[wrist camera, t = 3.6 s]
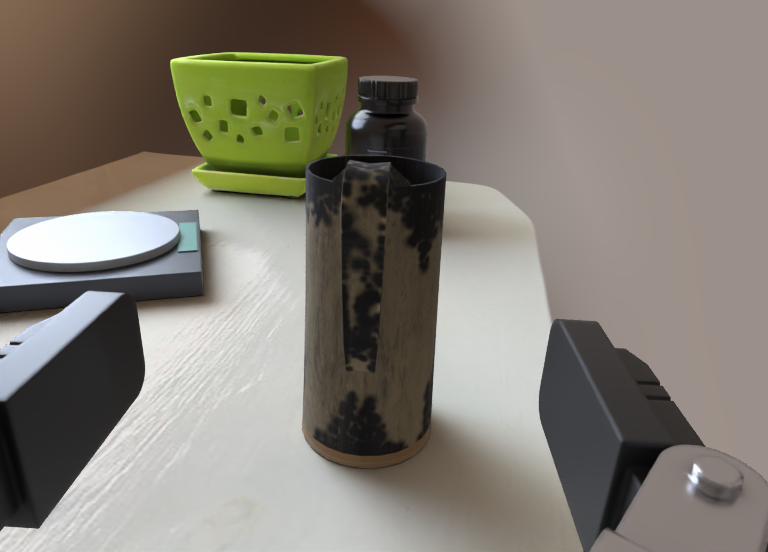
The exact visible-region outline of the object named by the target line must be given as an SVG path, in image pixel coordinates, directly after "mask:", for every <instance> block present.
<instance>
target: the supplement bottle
mask: <svg viewBox="0 0 768 552" xmlns="http://www.w3.org/2000/svg"><path fill="white" fill-rule="evenodd" d="M417 90H418V81H417V80H416V79H412V78H407V77H396V76H365V77H360V78H359V81H358V95H357V101H359V102H361V104H360V105H361V107H360V109H358V110H357V111H355V112H354V113H352V114H351V115H350V116H349V118H348V120H347V122H346V141H345V146H346V147H345V149H346V150H345V151H346V152H345V155H386V156H397V157H405V158H412V159H416V160H421V161H425V157H426V142H427V125H426V122H425V120H424V118H423V117H422V116H421V115H420V114H418V113H417V112H415V111H414V104H417V103H418V97H417Z"/></svg>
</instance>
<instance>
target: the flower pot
mask: <svg viewBox="0 0 768 552" xmlns="http://www.w3.org/2000/svg"><path fill="white" fill-rule="evenodd" d="M347 70H348V62H347V59H346V58H345V57H334V56H316V55H294V54H269V53H234V52H233V53H231V52H230V53H216V54H206V55H197V56H190V57H183V58H177V59H173V60H172V61H171V71H172V77H173V82H174V86H175V91H176V95H177V99H178V103H179V106H180V109H181V112H182V116H183V118H184V121H185V123H186V126H187V128H188V130H189V133H190V134H191V137H192V139H193V141H194V142H195V144H196V146H197V148H198V150H199V151H200V153H201V154H202V156H203V157H204V159H205V160H206V163H204V164H202V165H200V166H198V167H196V168H195V169H193V170H192V173H193V175H194V176H195V178H196V179H197V180H198V181H199V182H201V183H202V184H203V185H204V186H206V187H208V188H210V189H212V190H214V191H221V190H223V191H233V192H244V193H256V194H268V195H281V196H288V197H289V198H299V196H301V195H303V194H304V193H305V192H306V165H308V164H309V163H311V162H312V161H315V160H319V159H322V158H328V157H333V156H337V155H336V154H327V152H328V150H329V148H330V146H331V144H332V142H333V139H334V136H335V134H336V131H337V128H338V124H339V121H340V117H341V113H342V108H343V103H344V97H345V90H346V82H347V81H346V80H347ZM263 97H264V98H265V99H266V103H265V104H263V103H262V102H261V101H262V99H263ZM243 100H245V102H244V101H243ZM288 106H290V107H291V113H290V111H289V109H288ZM301 110H302V111H303V115H301V116H300V115H299V113H300V111H301Z"/></svg>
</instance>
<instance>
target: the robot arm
mask: <svg viewBox="0 0 768 552" xmlns="http://www.w3.org/2000/svg"><path fill="white" fill-rule="evenodd" d="M144 376H145V361H144V354H143V347H142V340H141V333H140V326H139V319H138V312H137V306H136V302H135V299H134V297H133V296H132V295H131V294H129V293H118V292H101V291H87V292H85V293H84V294H82V295H81V296H80V297H79V298H77V299H76V300H75V301H74V302H73V303H71V304H70V305H69V306H68V307H66V308H65V309H64V310H63V311H61V312H60V313H59V314H56V315H54V316H52V317H50V318H48V319H45V320H43V321H41V322H39V323H36V324H34V325H32V326H30V327H28V328H27V329H26V330H25V331H23V332H22V333H21V334H19V335H18V336H17V337H15V338H14V339H13V340H12V341H10V345H5V346H4V347H3V348H1V349H0V531H1V530H2V529H3V527H4V526H8V527H23V528H37V529H39V528H40V526H41V525H42V523H43V522H44V521H45V519H46V518H47V517H48V515H49V514H50V513H51V511H52V510H53V509H54V507H55V506H56V505H57V503H58V502H59V501H60V499H61V498H62V497H63V495H64V494H65V493H66V491H67V490H68V489H69V487H70V486H71V485H72V483H73V482H74V481H75V479H76V478H77V477H78V475H79V474H80V473H81V471H82V470H83V469H84V467H85V466H86V465H87V463H88V462H89V461H90V459H91V458H92V457H93V455H94V454H95V453H96V451H97V450H98V449H99V447H100V446H101V445H102V443H103V442H104V441H105V439H106V438H107V437H108V435H109V434H110V433H111V431H112V430H113V429H114V427H115V426H116V425H117V423H118V422H119V421H120V419H121V418H122V417H123V415H124V414H125V413H126V411H127V410H128V409H129V407H130V406H131V405H132V403H133V402H134V401H135V399H136V398H137V396H138V395H139V393H140V391H141V388H142V385H143V381H144ZM539 414H540V420H541V424H542V427H543V430H544V433H545V436H546V439H547V442H548V445H549V448H550V451H551V454H552V457H553V460H554V463H555V466H556V469H557V472H558V475H559V478H560V481H561V484H562V487H563V490H564V493H565V496H566V499H567V502H568V505H569V508H570V511H571V514H572V517H573V520H574V523H575V526H576V529H577V532H578V535H579V538H580V541H581V544H582V547H583V550H584V552H768V482H767V481H766V480H765V479H764V478H763V477H762V476H761V475H760V474H759V473H758V472H756V471H755V470H754V469H753V468H751V467H750V466H748V465H747V464H745V463H744V462H742V461H740V460H738V459H736V458H735V457H732V456H730V455H728V454H726V453H723V452H720V451H718V450H715V449H711V448H708V447H705V445H704V444H703V442H702V441H701V440H700V438H699V437H698V435H697V434H696V432H695V431H694V430H693V428H692V427H691V426H690V424H689V423H688V421H687V420H686V418H685V417H684V416H683V414H682V413H681V411H680V410H679V408H678V407H677V406H676V404H675V403H674V401H671V400H670V396H669V395H668V393H667V392H666V390H665V389H664V387H663V386H660V382H659V380H658V379H657V377H656V376H655V375H654V373H653V372H652V370H651V369H650V368H649V366H648V365H647V364H646V363H644V362H643V361H642V360H640V359H639V358H637V357H636V356H635V355H633V354H632V353H630V352H629V351H628V350H626V349H619V348H614V346H613V345H612V343H611V342H610V340H609V339H608V337H607V335H606V334H605V332H604V331H603V329H602V328H601V326H600V325H599V323H598V322H596V321H581V320H565V319H556V320H554V322H553V324H552V326H551V330H550V335H549V340H548V346H547V352H546V357H545V363H544V368H543V374H542V380H541V385H540V391H539Z"/></svg>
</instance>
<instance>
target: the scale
mask: <svg viewBox="0 0 768 552" xmlns="http://www.w3.org/2000/svg"><path fill="white" fill-rule="evenodd" d="M87 291H101V292H118V293H129V294H131V295H132V296H133V297H134V299H135V301H140V300H151V299H163V298H174V297H186V296H197V295H204V289H203V272H202V256H201V239H200V224H199V213H198V210H188V211H166V212H144V213H143V212H130V211H107V212H93V213H84V214H76V215H70V216H57V217H35V218H15V219H14V220H13V221H12V222H11V223H10V224H9V225H8V227H7V228H6V229H5V230H4V231H3V232H2V233H1V235H0V313H2V312H13V311H25V310H36V309H48V308H59V307H68V306H69V305H70V304H71V303H73V302H74V301H75V300H76V299H77V298H79V297H80V296H81V295H82V294H84V293H85V292H87Z"/></svg>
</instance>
